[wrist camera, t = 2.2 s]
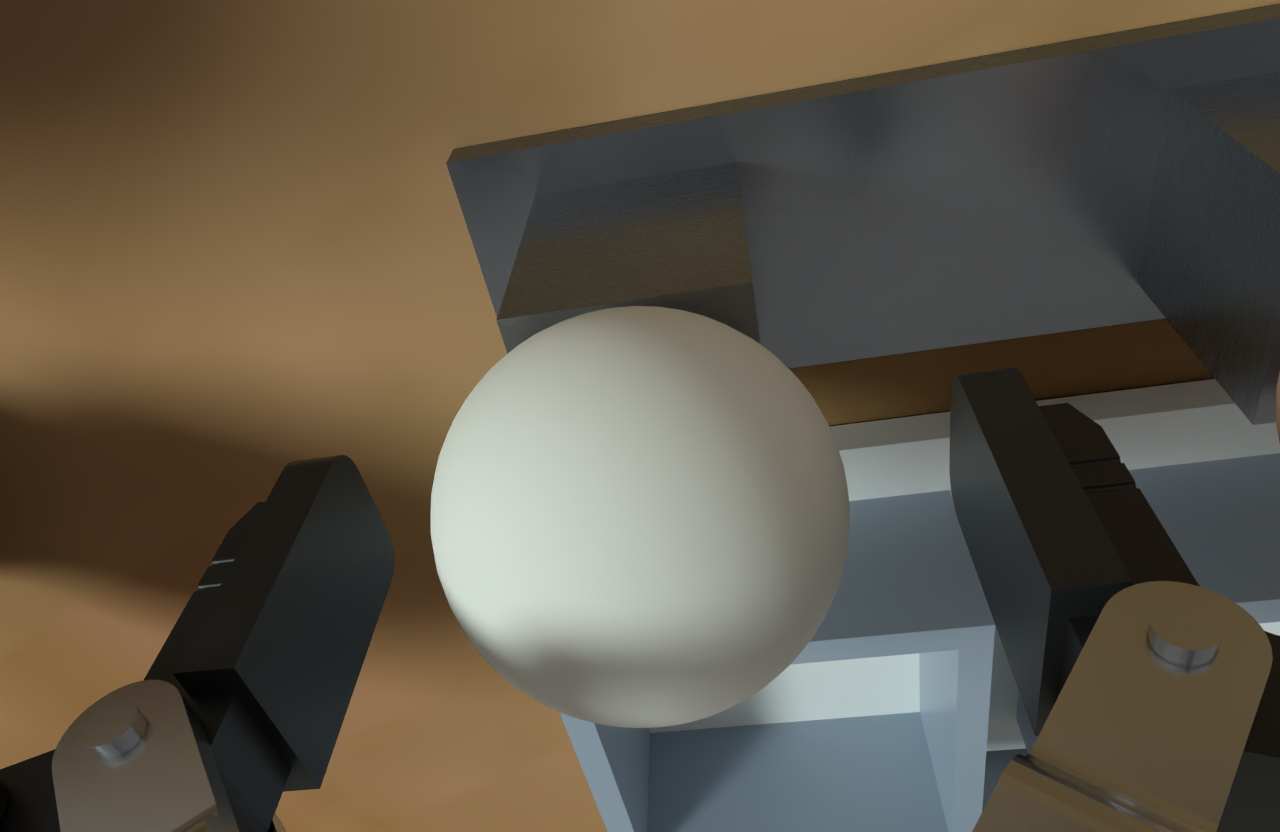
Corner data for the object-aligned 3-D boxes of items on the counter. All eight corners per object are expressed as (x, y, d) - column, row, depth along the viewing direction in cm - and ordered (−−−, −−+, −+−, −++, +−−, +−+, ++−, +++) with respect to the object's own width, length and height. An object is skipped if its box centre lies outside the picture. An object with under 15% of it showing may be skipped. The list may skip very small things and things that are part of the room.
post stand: (453, 149, 15) (383, 282, 12) (1505, -37, 13) (1820, 57, 10) (529, 385, 18) (492, 550, 15) (1399, 267, 16) (1608, 427, 12)
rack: (508, 466, 20) (472, 622, 16) (1542, 338, 17) (1761, 494, 13) (612, 752, 26) (602, 907, 23) (1371, 695, 23) (1489, 861, 20)
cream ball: (424, 264, 12) (297, 534, 8) (807, 204, 11) (877, 467, 7) (524, 534, 15) (467, 827, 11) (832, 499, 14) (891, 800, 10)
